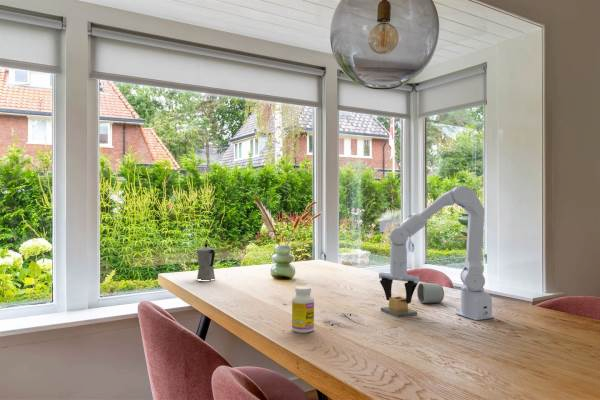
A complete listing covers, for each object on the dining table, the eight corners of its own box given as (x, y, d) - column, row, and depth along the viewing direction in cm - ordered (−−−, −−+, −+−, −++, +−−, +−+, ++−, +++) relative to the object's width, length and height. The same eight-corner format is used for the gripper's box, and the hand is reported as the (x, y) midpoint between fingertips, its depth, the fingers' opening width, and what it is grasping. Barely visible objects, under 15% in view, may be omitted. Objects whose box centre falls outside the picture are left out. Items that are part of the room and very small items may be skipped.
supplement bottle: (306, 334, 130) (306, 290, 130) (287, 331, 134) (287, 288, 134) (318, 329, 136) (318, 286, 136) (299, 326, 140) (299, 284, 140)
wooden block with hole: (408, 310, 155) (408, 298, 155) (397, 311, 153) (397, 300, 153) (399, 307, 159) (399, 296, 159) (389, 308, 157) (388, 297, 157)
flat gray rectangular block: (417, 314, 153) (417, 302, 153) (398, 317, 150) (398, 305, 150) (399, 308, 162) (399, 297, 162) (380, 310, 159) (380, 299, 159)
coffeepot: (191, 279, 223) (191, 242, 223) (208, 277, 228) (208, 241, 228) (204, 283, 210) (204, 245, 210) (223, 281, 216) (222, 244, 216)
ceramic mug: (445, 304, 168) (445, 283, 168) (424, 305, 167) (424, 284, 167) (433, 298, 178) (432, 279, 178) (413, 299, 177) (413, 280, 177)
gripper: (423, 262, 154) (423, 302, 154) (385, 259, 164) (385, 296, 164) (413, 265, 149) (413, 306, 149) (375, 261, 158) (375, 299, 158)
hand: (398, 301), depth 156 cm, fingers open, 7 cm apart
